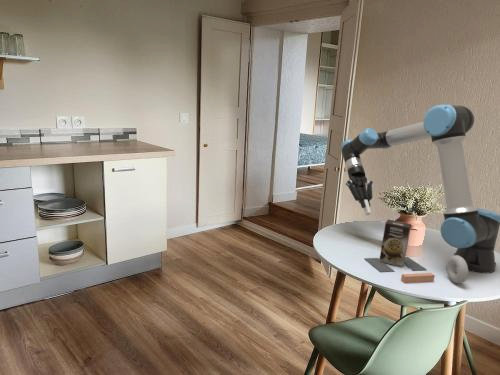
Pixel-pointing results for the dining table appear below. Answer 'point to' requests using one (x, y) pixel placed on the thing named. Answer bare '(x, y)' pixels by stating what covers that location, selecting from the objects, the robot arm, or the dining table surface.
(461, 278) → the donut
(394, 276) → the dining table surface
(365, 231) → the dining table surface
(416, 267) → the pads
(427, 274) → the tan rectangular bar
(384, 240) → the coffee box
